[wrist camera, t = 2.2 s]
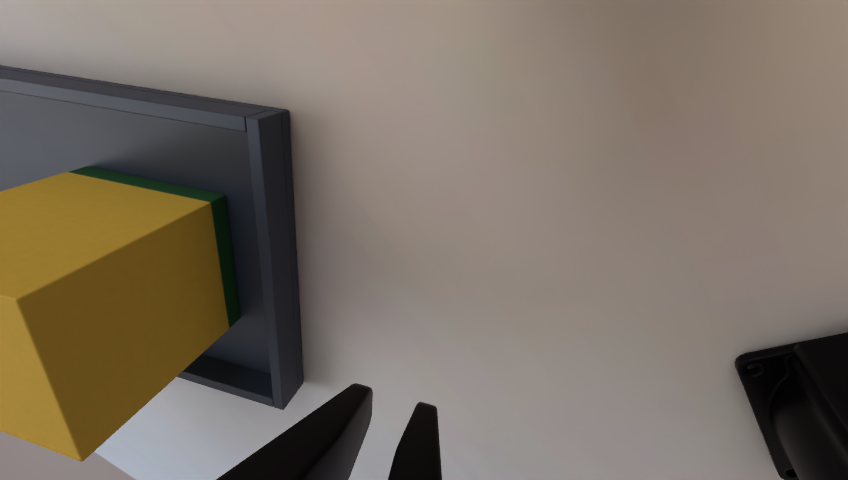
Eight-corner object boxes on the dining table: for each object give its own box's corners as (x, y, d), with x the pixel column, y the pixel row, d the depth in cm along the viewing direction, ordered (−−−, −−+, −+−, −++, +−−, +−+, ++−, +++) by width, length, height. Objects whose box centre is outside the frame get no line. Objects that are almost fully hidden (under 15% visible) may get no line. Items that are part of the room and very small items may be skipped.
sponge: (226, 194, 20) (15, 300, 13) (242, 317, 24) (82, 462, 16) (86, 165, 22) (-175, 243, 14) (118, 284, 25) (-81, 400, 18)
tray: (289, 109, 18) (258, 119, 17) (303, 382, 25) (283, 410, 24) (-136, 44, 24) (-194, 46, 22) (-28, 285, 31) (-65, 301, 29)
